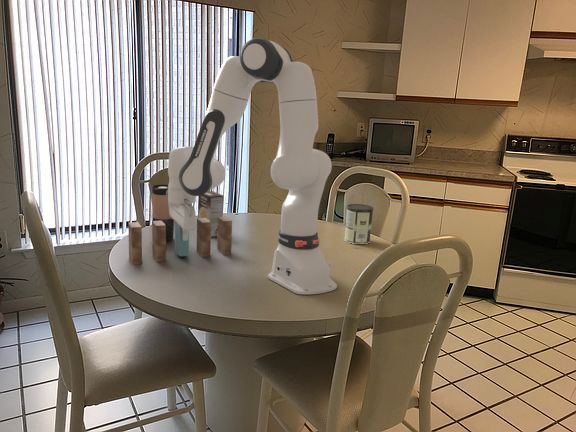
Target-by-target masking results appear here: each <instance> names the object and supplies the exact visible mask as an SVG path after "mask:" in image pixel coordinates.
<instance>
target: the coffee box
mask: <svg viewBox="0 0 576 432" xmlns="http://www.w3.org/2000/svg"><path fill="white" fill-rule="evenodd" d="M197 205H198V206H197V208H198V209H197V210H198V212H197V215H198V216H197V218H206V219H208V220H209V221H210V222H211V238H213V237H217V235H218V217H224V195H223V194H221V193H218V192H216V191H213V190H209V191H207V192H206V193H205V194H203V195H201V196H198V204H197Z"/></svg>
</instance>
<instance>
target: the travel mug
mask: <svg viewBox="0 0 576 432" xmlns="http://www.w3.org/2000/svg"><path fill="white" fill-rule="evenodd" d="M168 185H169V184H154V185H152V186H151V187H152V189H151V190H152V191H151V193H152V197H151V198H152V199H151V201H152V210H151V211H152V214H151V215H152V217H151V218H152V221H162V222H163V223H164V224H165V225H166V243H168V242H172V241H173V240H174V233H175V221H174V220H173V219H172V218H171V217H170V214H169V206H168V197H167V196H166V192H167V190H168Z"/></svg>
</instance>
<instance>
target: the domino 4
mask: <svg viewBox="0 0 576 432" xmlns="http://www.w3.org/2000/svg"><path fill="white" fill-rule="evenodd" d="M232 232H233V220H232V219H230V218H229V217H228V216H224V215H223V217H218V235H217V236H216V237H217V239H216V240H217V243H216V244H217V246H216V249H217V251H218V252H219V253H220V254H222V256H224V255H225V256H226V255H232V239H233V238H232V237H233V233H232Z"/></svg>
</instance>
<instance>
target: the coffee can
mask: <svg viewBox="0 0 576 432" xmlns="http://www.w3.org/2000/svg"><path fill="white" fill-rule="evenodd" d="M373 211H374V207H373V206H372V205H371V206H370V205H367V204H362V203H361V204H360V203H350V204H347V205H346V216H345V229H344V238H343V241H344V242H345V241H346V242H345V243H347V242H348V244H350V243H352V244H351V245H355V244H366V245H369V244H370V243H371V231H372V222H373V215H374V214H373ZM368 243H369V244H368Z"/></svg>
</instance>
